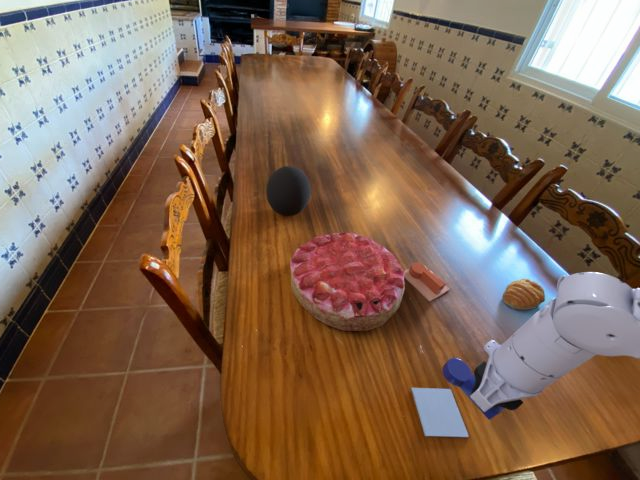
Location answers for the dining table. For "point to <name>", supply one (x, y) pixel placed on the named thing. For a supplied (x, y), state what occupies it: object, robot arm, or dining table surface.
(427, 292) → the rose mat
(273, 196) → the decorative egg
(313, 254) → the cake
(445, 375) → the blue spoon
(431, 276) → the terracotta spoon
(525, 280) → the pastry
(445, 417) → the blue mat
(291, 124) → the dining table surface
